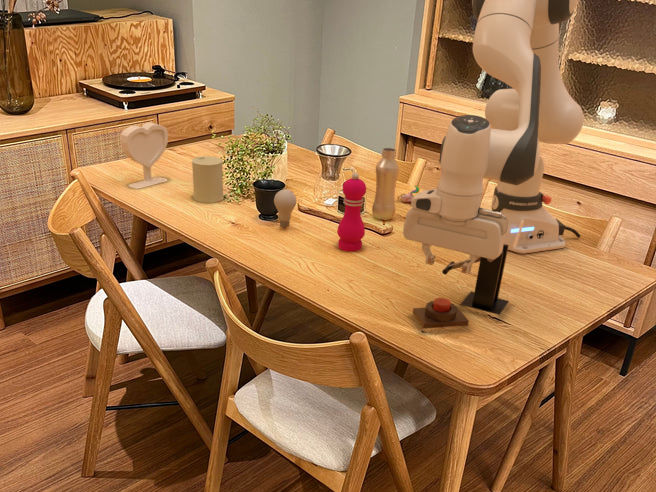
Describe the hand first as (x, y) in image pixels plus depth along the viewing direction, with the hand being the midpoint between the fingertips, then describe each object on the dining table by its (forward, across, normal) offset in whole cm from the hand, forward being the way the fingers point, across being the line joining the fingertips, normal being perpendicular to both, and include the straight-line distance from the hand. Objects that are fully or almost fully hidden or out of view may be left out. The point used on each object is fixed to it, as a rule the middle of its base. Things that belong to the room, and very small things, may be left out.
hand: (447, 267), depth 145 cm
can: (+13, +88, -37) cm, 96 cm away
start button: (+9, 0, 0) cm, 9 cm away
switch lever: (+4, -2, -13) cm, 14 cm away
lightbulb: (+13, +56, -29) cm, 64 cm away
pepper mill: (+13, +35, -27) cm, 46 cm away
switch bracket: (+13, -6, -13) cm, 19 cm away
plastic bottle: (+13, +36, -52) cm, 65 cm away
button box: (+13, 0, 0) cm, 13 cm away
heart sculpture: (+13, +112, -38) cm, 119 cm away
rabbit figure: (+13, +31, -69) cm, 77 cm away
